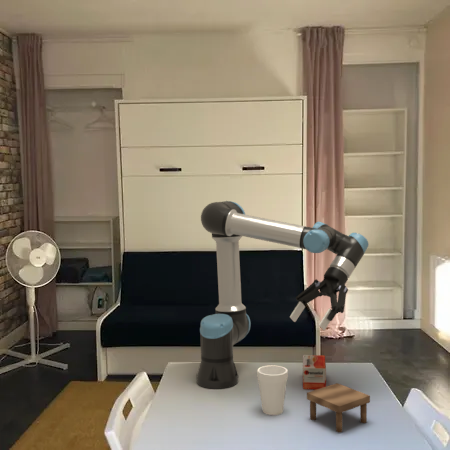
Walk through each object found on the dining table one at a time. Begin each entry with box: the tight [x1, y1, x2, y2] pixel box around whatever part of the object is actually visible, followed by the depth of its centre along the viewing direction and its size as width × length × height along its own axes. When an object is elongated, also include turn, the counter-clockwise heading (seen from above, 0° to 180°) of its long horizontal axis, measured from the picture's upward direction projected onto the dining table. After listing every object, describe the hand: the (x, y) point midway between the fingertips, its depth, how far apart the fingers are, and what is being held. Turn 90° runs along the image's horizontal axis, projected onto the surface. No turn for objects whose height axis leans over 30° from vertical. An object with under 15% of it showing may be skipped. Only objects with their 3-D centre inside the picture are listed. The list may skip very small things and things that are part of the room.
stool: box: [306, 382, 371, 433], centre depth 161 cm, size 13×13×8 cm
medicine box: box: [302, 354, 327, 391], centre depth 193 cm, size 15×8×8 cm, turn 171°
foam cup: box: [256, 364, 289, 416], centre depth 168 cm, size 10×9×13 cm
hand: (306, 323), depth 175 cm, fingers open, 13 cm apart
